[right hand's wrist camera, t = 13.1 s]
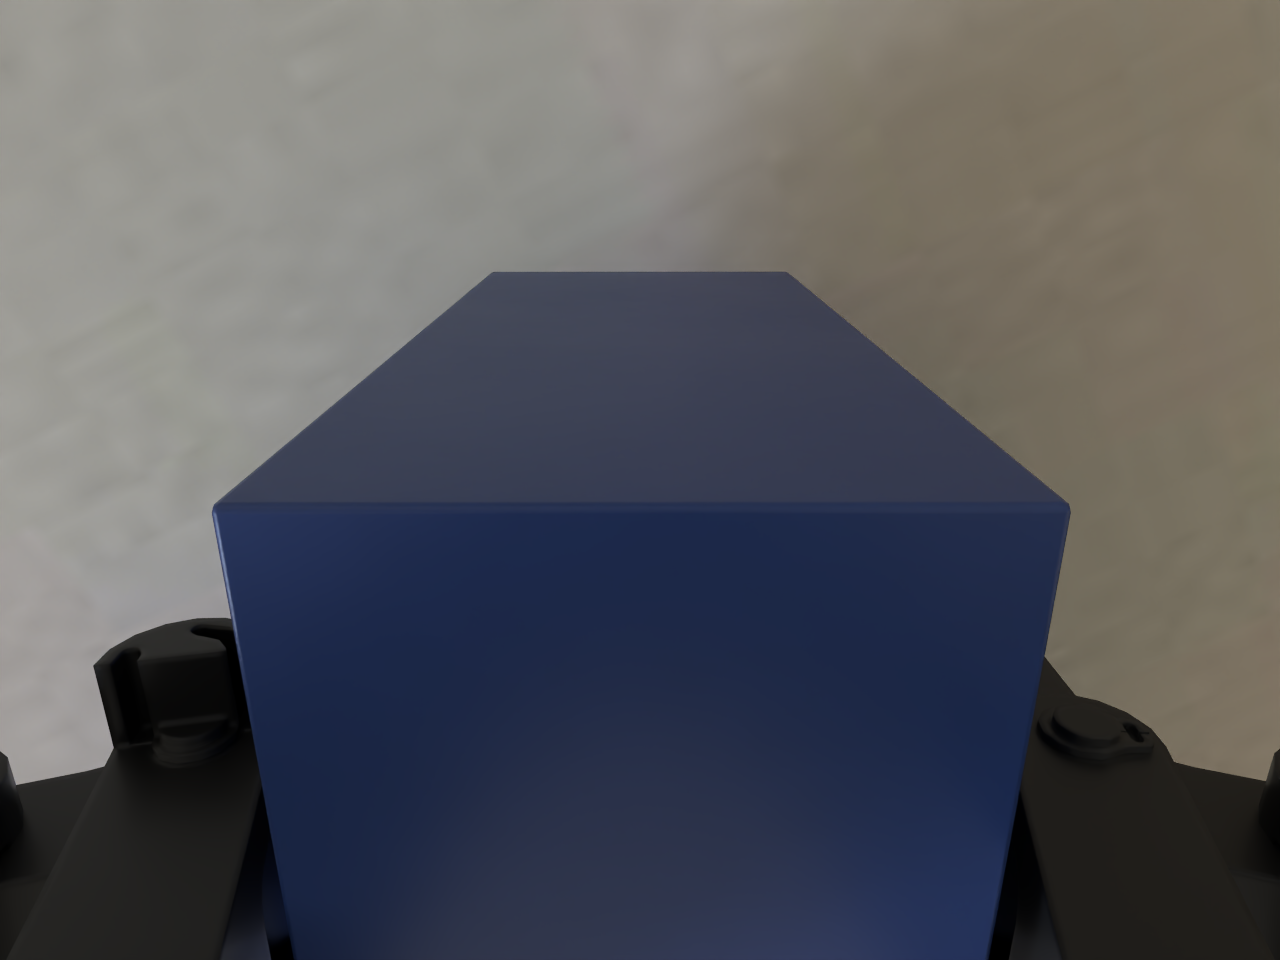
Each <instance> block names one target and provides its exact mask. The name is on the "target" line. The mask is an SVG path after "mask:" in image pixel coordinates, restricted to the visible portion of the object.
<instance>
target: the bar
mask: <svg viewBox="0 0 1280 960" xmlns="http://www.w3.org/2000/svg"><path fill="white" fill-rule="evenodd" d="M1070 513H1071V512H1070V507H1069V504H1068V503H1067V502H1066V501H1065V500H1063V499H1062V498H1061V497H1060V496H1058V495H1057V494H1056V493H1055V492H1054V491H1052V490H1051V489H1050V488H1049V487H1048V486H1046V485H1045V484H1044V483H1043V482H1041V481H1040V480H1039V479H1038V478H1037V477H1035V476H1034V475H1033V474H1032V473H1031V472H1029V471H1028V470H1027V469H1026V468H1024V467H1023V466H1022V465H1021V464H1020V463H1018V462H1017V461H1016V460H1015V459H1014V458H1012V457H1011V456H1010V455H1009V454H1007V453H1006V452H1005V451H1004V450H1003V449H1001V448H1000V447H999V446H998V445H997V444H995V443H994V442H993V441H992V440H990V439H989V438H988V437H987V436H986V435H984V434H983V433H982V432H981V431H980V430H978V429H977V428H976V427H975V426H973V425H972V424H971V423H970V422H969V421H967V420H966V419H965V418H964V417H962V416H961V415H960V414H959V413H958V412H956V411H955V410H954V409H953V408H952V407H950V406H949V405H948V404H947V403H945V402H944V401H943V400H942V399H941V398H939V397H938V396H937V395H936V394H935V393H933V392H932V391H931V390H930V389H928V388H927V387H926V386H925V385H924V384H922V383H921V382H920V381H919V380H918V379H916V378H915V377H914V376H913V375H911V374H910V373H909V372H908V371H907V370H905V369H904V368H903V367H902V366H901V365H899V364H898V363H897V362H896V361H894V360H893V359H892V358H891V357H890V356H888V355H887V354H886V353H885V352H884V351H882V350H881V349H880V348H879V347H877V346H876V345H875V344H874V343H873V342H871V341H870V340H869V339H868V338H867V337H865V336H864V335H863V334H862V333H860V332H859V331H858V330H857V329H856V328H854V327H853V326H852V325H851V324H849V323H848V322H847V321H846V320H845V319H843V318H842V317H841V316H840V315H839V314H837V313H836V312H835V311H834V310H832V309H831V308H830V307H829V306H828V305H826V304H825V303H824V302H823V301H822V300H820V299H819V298H818V297H817V296H815V295H814V294H813V293H812V292H811V291H809V290H808V289H807V288H806V287H805V286H803V285H802V284H801V283H800V282H798V281H797V280H796V279H795V278H794V277H792V276H791V275H790V274H789V273H787V272H493V273H491V274H490V275H489V276H487V277H486V278H485V279H484V280H483V281H481V282H480V283H479V284H478V285H477V286H475V287H474V288H473V289H472V290H471V291H469V292H468V293H467V294H466V295H465V296H463V297H462V298H461V299H460V300H459V301H457V302H456V303H455V304H454V305H453V306H451V307H450V308H449V309H448V310H447V311H445V312H444V313H443V314H442V315H441V316H439V317H438V318H437V319H436V320H435V321H433V322H432V323H431V324H430V325H429V326H427V327H426V328H425V329H424V330H423V331H421V332H420V333H419V334H418V335H417V336H415V337H414V338H413V339H412V340H411V341H409V342H408V343H407V344H406V345H405V346H403V347H402V348H401V349H400V350H399V351H397V352H396V353H395V354H394V355H393V356H391V357H390V358H389V359H388V360H387V361H385V362H384V363H383V364H382V365H381V366H379V367H378V368H377V369H376V370H375V371H373V372H372V373H371V374H370V375H369V376H367V377H366V378H365V379H364V380H363V381H361V382H360V383H359V384H358V385H357V386H355V387H354V388H353V389H352V390H351V391H350V392H348V393H347V394H346V395H345V396H344V397H342V398H341V399H340V400H339V401H338V402H336V403H335V404H334V405H333V406H332V407H330V408H329V409H328V410H327V411H326V412H324V413H323V414H322V415H321V416H320V417H318V418H317V419H316V420H315V421H314V422H312V423H311V424H310V425H309V426H308V427H306V428H305V429H304V430H303V431H302V432H300V433H299V434H298V435H297V436H296V437H294V438H293V439H292V440H291V441H290V442H288V443H287V444H286V445H285V446H284V447H282V448H281V449H280V450H279V451H278V452H276V453H275V454H274V455H273V456H272V457H270V458H269V459H268V460H267V461H266V462H264V463H263V464H262V465H261V466H260V467H258V468H257V469H256V470H255V471H254V472H252V473H251V474H250V475H249V476H248V477H246V478H245V479H244V480H243V481H242V482H240V483H239V484H238V485H237V486H236V487H234V488H233V489H232V490H231V491H230V492H228V493H227V494H226V495H225V496H224V497H222V498H221V499H220V500H219V501H218V502H216V503H215V504H214V506H213V510H212V516H213V521H214V527H215V532H216V538H217V543H218V549H219V554H220V559H221V565H222V570H223V576H224V581H225V587H226V592H227V598H228V603H229V609H230V614H231V619H232V625H233V630H234V636H235V641H236V647H237V652H238V658H239V663H240V669H241V674H242V679H243V685H244V690H245V696H246V701H247V707H248V712H249V718H250V723H251V728H252V734H253V739H254V745H255V750H256V756H257V761H258V767H259V772H260V778H261V783H262V788H263V794H264V799H265V805H266V810H267V816H268V821H269V827H270V832H271V838H272V843H273V848H274V854H275V859H276V865H277V870H278V876H279V881H280V887H281V892H282V898H283V903H284V908H285V914H286V919H287V925H288V930H289V936H290V941H291V947H292V952H293V958H294V960H989V954H990V949H991V944H992V938H993V933H994V927H995V922H996V916H997V911H998V905H999V900H1000V895H1001V889H1002V884H1003V878H1004V873H1005V867H1006V862H1007V856H1008V851H1009V845H1010V840H1011V835H1012V829H1013V824H1014V818H1015V813H1016V807H1017V802H1018V796H1019V791H1020V786H1021V780H1022V775H1023V769H1024V764H1025V758H1026V753H1027V748H1028V742H1029V737H1030V731H1031V726H1032V720H1033V715H1034V709H1035V704H1036V698H1037V693H1038V688H1039V682H1040V677H1041V671H1042V666H1043V660H1044V655H1045V649H1046V644H1047V639H1048V633H1049V628H1050V622H1051V617H1052V611H1053V606H1054V600H1055V595H1056V590H1057V584H1058V579H1059V573H1060V568H1061V562H1062V557H1063V551H1064V546H1065V541H1066V535H1067V530H1068V524H1069V519H1070Z"/></svg>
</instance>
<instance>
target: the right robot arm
mask: <svg viewBox="0 0 1280 960" xmlns="http://www.w3.org/2000/svg"><path fill="white" fill-rule="evenodd" d="M94 670H95V674H96V678H97V682H98V686H99V690H100V694H101V698H102V702H103V706H104V710H105V714H106V718H107V722H108V726H109V730H110V734H111V738H112V742H113V746H114V749H113V751H112V753H111V755H110V757H109V759H108V761H107V763H106V765H105V767H101V768H97V769H94V770H90V771H86V772H80V773H75V774H70V775H65V776H60V777H55V778H50V779H45V780H40V781H35V782H30V783H25V784H20V785H16V784H15V781H14V777H13V774H12V771H11V767H10V764H9V761H8V757H6V756H5V755H4V754H3V753H1V752H0V960H294V958H293V952H292V947H291V941H290V936H289V930H288V925H287V919H286V914H285V908H284V903H283V898H282V892H281V887H280V881H279V876H278V870H277V865H276V859H275V854H274V848H273V843H272V838H271V832H270V827H269V821H268V816H267V810H266V805H265V799H264V794H263V788H262V783H261V778H260V772H259V767H258V761H257V756H256V750H255V745H254V739H253V734H252V728H251V723H250V718H249V712H248V707H247V701H246V696H245V690H244V685H243V679H242V674H241V669H240V663H239V658H238V652H237V647H236V641H235V636H234V630H233V625H232V619H228V618H197V619H191V620H186V621H181V622H175V623H170V624H165V625H162V626H159V627H156V628H154V629H151V630H148V631H145V632H142V633H139V634H136V635H134V636H132V637H131V638H129V639H127V640H125V641H124V642H122V643H120V644H118V645H117V646H115V647H113V648H111V649H110V650H109V651H108V652H107V653H106V654H105V655H104V656H103V657H102V658H101V659H100V660H99V661H98V662H97V663H96V664H95V665H94ZM989 960H1280V749H1279V750H1278V751H1277V752H1275V753H1274V757H1273V760H1272V763H1271V767H1270V770H1269V773H1268V776H1267V780H1266V781H1261V780H1256V779H1251V778H1246V777H1241V776H1236V775H1231V774H1226V773H1221V772H1216V771H1211V770H1205V769H1200V768H1195V767H1191V766H1187V765H1184V764H1180V763H1176V762H1174V761H1173V759H1172V757H1171V755H1170V753H1169V751H1168V749H1167V747H1166V746H1165V745H1164V744H1163V742H1162V741H1161V740H1160V739H1159V738H1158V736H1157V735H1156V734H1155V733H1154V732H1153V730H1152V729H1151V728H1149V727H1148V726H1146V725H1145V724H1143V723H1142V722H1140V721H1139V720H1137V719H1136V718H1134V717H1133V716H1131V715H1130V714H1128V713H1127V712H1124V711H1122V710H1119V709H1117V708H1115V707H1112V706H1110V705H1107V704H1105V703H1102V702H1100V701H1097V700H1092V699H1088V698H1083V697H1079V696H1075V694H1074V693H1073V692H1072V691H1071V689H1070V688H1069V687H1068V686H1067V684H1066V683H1065V682H1064V681H1063V679H1062V678H1061V677H1060V676H1059V674H1058V673H1057V672H1056V671H1055V669H1054V668H1053V667H1052V666H1051V664H1050V663H1049V662H1048V661H1047V659H1046V658H1045V657H1044V660H1043V666H1042V671H1041V677H1040V682H1039V688H1038V693H1037V698H1036V704H1035V709H1034V715H1033V720H1032V726H1031V731H1030V737H1029V742H1028V748H1027V753H1026V758H1025V764H1024V769H1023V775H1022V780H1021V786H1020V791H1019V796H1018V802H1017V807H1016V813H1015V818H1014V824H1013V829H1012V835H1011V840H1010V845H1009V851H1008V856H1007V862H1006V867H1005V873H1004V878H1003V884H1002V889H1001V895H1000V900H999V905H998V911H997V916H996V922H995V927H994V933H993V938H992V944H991V949H990V954H989Z"/></svg>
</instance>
